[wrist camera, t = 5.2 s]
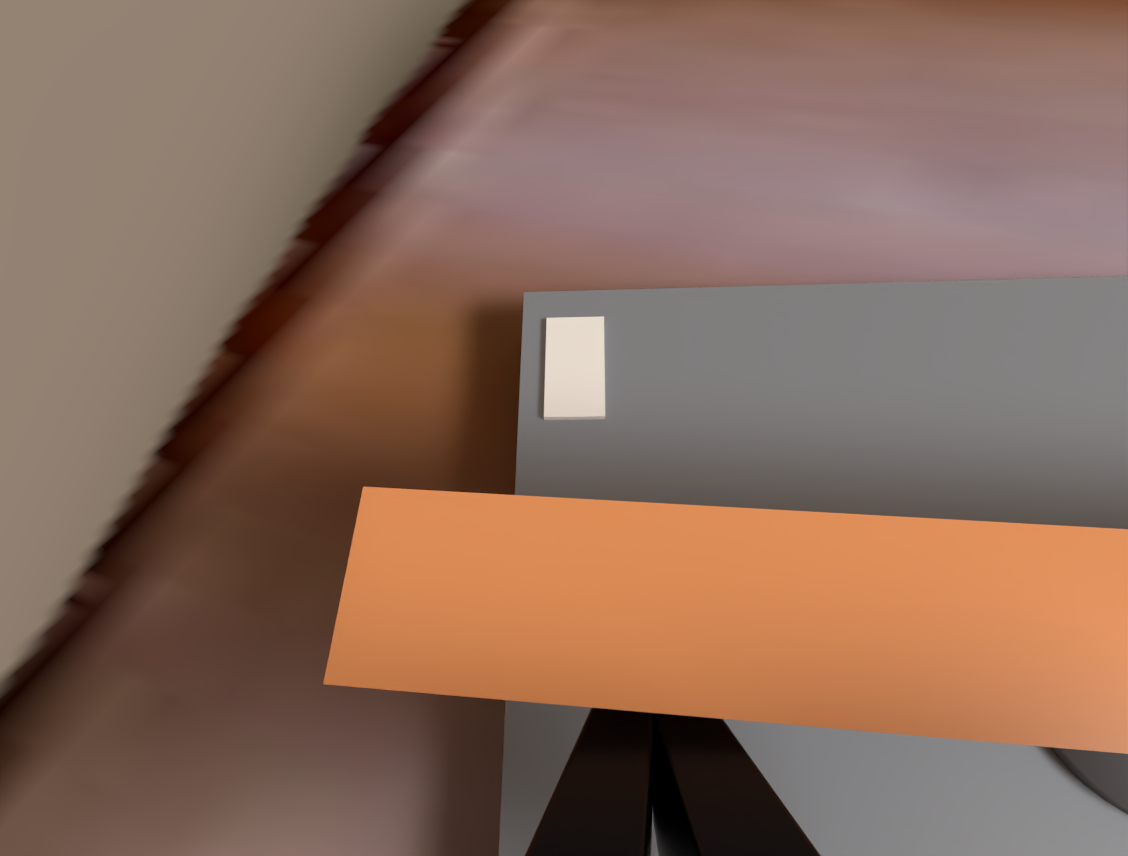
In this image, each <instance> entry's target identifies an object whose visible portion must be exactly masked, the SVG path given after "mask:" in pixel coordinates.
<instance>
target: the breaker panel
mask: <svg viewBox="0 0 1128 856" xmlns="http://www.w3.org/2000/svg"><path fill="white" fill-rule="evenodd" d="M515 495H523V496H541V497H559V498H576V499H594V500H612V501H630V502H648V503H666V504H684V505H702V506H720V507H738V508H756V509H774V510H792V511H809V512H827V513H845V514H863V515H881V516H899V517H917V518H935V519H953V520H971V521H989V522H1007V523H1024V524H1042V525H1060V526H1078V527H1096V528H1114V529H1128V276H1109V277H1072V278H1034V279H997V280H960V281H923V282H885V283H848V284H811V285H774V286H737V287H699V288H662V289H625V290H588V291H551V292H524V302H523V324H522V346H521V368H520V391H519V413H518V435H517V457H516V480H515ZM590 710H591V707H580V706H568V705H557V704H545V703H534V702H522V701H511V700H506V702H505V724H504V747H503V769H502V791H501V813H500V835H499V856H525V854H526V852H527V849H528V847H529V845H530V843H531V841H532V838H533V836H534V834H535V832H536V829H537V827H538V825H539V823H540V821H541V818H542V816H543V814H544V812H545V809H546V807H547V805H548V803H549V801H550V798H551V796H552V794H553V792H554V789H555V787H556V785H557V783H558V781H559V778H560V776H561V774H562V772H563V770H564V767H565V765H566V763H567V761H568V758H569V756H570V754H571V752H572V750H573V747H574V745H575V743H576V741H577V738H578V736H579V734H580V732H581V730H582V727H583V725H584V723H585V721H586V718H587V716H588V714H589V712H590ZM723 720H724V721H725V723H726V724H727V725H728V727H729V728H730V730H731V731H732V732H733V734H734V735H735V737H736V738H737V739H738V741H739V742H740V744H741V745H742V746H743V748H744V749H745V751H746V752H747V753H748V755H749V756H750V758H751V759H752V760H753V762H754V763H755V764H756V766H757V767H758V769H759V770H760V771H761V773H762V774H763V776H764V777H765V778H766V780H767V781H768V783H769V784H770V785H771V787H772V788H773V790H774V791H775V792H776V794H777V795H778V797H779V798H780V799H781V801H782V802H783V804H784V805H785V806H786V808H787V809H788V811H789V812H790V813H791V815H792V816H793V817H794V819H795V820H796V822H797V823H798V824H799V826H800V827H801V829H802V830H803V831H804V833H805V834H806V836H807V837H808V838H809V840H810V841H811V843H812V844H813V845H814V847H815V848H816V850H817V851H818V852H819V854H820V855H821V856H1128V754H1123V753H1112V752H1100V751H1088V750H1077V749H1065V748H1054V747H1042V746H1031V745H1019V744H1008V743H996V742H984V741H973V740H961V739H950V738H938V737H927V736H915V735H904V734H892V733H880V732H869V731H857V730H846V729H834V728H823V727H811V726H800V725H788V724H776V723H765V722H753V721H742V720H730V719H723ZM651 856H659V853H658V848H657V842H656V835H655V828H654V821H653V811H652V849H651Z"/></svg>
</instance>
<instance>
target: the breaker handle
mask: <svg viewBox="0 0 1128 856" xmlns="http://www.w3.org/2000/svg"><path fill="white" fill-rule="evenodd" d="M323 684H326V685H337V686H349V687H360V688H372V689H383V690H395V691H407V692H418V693H430V694H441V695H453V696H464V697H476V698H487V699H499V700H511V701H522V702H534V703H545V704H557V705H568V706H580V707H591V708H603V709H615V710H626V711H638V712H649V713H661V714H672V715H684V716H696V717H707V718H719V719H730V720H742V721H753V722H765V723H776V724H788V725H800V726H811V727H823V728H834V729H846V730H857V731H869V732H880V733H892V734H904V735H915V736H927V737H938V738H950V739H961V740H973V741H984V742H996V743H1008V744H1019V745H1031V746H1042V747H1054V748H1065V749H1077V750H1088V751H1100V752H1112V753H1123V754H1128V529H1114V528H1096V527H1078V526H1060V525H1042V524H1024V523H1007V522H989V521H971V520H953V519H935V518H917V517H899V516H881V515H863V514H845V513H827V512H809V511H792V510H774V509H756V508H738V507H720V506H702V505H684V504H666V503H648V502H630V501H612V500H594V499H576V498H559V497H541V496H523V495H505V494H487V493H469V492H451V491H433V490H415V489H397V488H379V487H363V490H362V495H361V500H360V505H359V510H358V515H357V519H356V524H355V529H354V534H353V539H352V544H351V549H350V554H349V559H348V564H347V569H346V574H345V579H344V584H343V589H342V593H341V598H340V603H339V608H338V613H337V618H336V623H335V628H334V633H333V638H332V643H331V648H330V653H329V658H328V663H327V667H326V672H325V677H324V682H323Z"/></svg>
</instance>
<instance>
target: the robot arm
mask: <svg viewBox="0 0 1128 856" xmlns="http://www.w3.org/2000/svg"><path fill="white" fill-rule="evenodd" d="M652 811H653V821H654V828H655V835H656V842H657V848H658V853H659V856H821V855H820V854H819V852H818V851H817V850H816V848H815V847H814V845H813V844H812V843H811V841H810V840H809V838H808V837H807V836H806V834H805V833H804V831H803V830H802V829H801V827H800V826H799V824H798V823H797V822H796V820H795V819H794V817H793V816H792V815H791V813H790V812H789V811H788V809H787V808H786V806H785V805H784V804H783V802H782V801H781V799H780V798H779V797H778V795H777V794H776V792H775V791H774V790H773V788H772V787H771V785H770V784H769V783H768V781H767V780H766V778H765V777H764V776H763V774H762V773H761V771H760V770H759V769H758V767H757V766H756V764H755V763H754V762H753V760H752V759H751V758H750V756H749V755H748V753H747V752H746V751H745V749H744V748H743V746H742V745H741V744H740V742H739V741H738V739H737V738H736V737H735V735H734V734H733V732H732V731H731V730H730V728H729V727H728V725H727V724H726V723H725V721H724V720H723V719H719V718H707V717H696V716H684V715H672V714H661V713H649V712H638V711H626V710H615V709H603V708H591V710H590V712H589V714H588V716H587V718H586V721H585V723H584V725H583V727H582V730H581V732H580V734H579V736H578V738H577V741H576V743H575V745H574V747H573V750H572V752H571V754H570V756H569V758H568V761H567V763H566V765H565V767H564V770H563V772H562V774H561V776H560V778H559V781H558V783H557V785H556V787H555V789H554V792H553V794H552V796H551V798H550V801H549V803H548V805H547V807H546V809H545V812H544V814H543V816H542V818H541V821H540V823H539V825H538V827H537V829H536V832H535V834H534V836H533V838H532V841H531V843H530V845H529V847H528V849H527V852H526V854H525V856H651V849H652Z"/></svg>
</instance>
